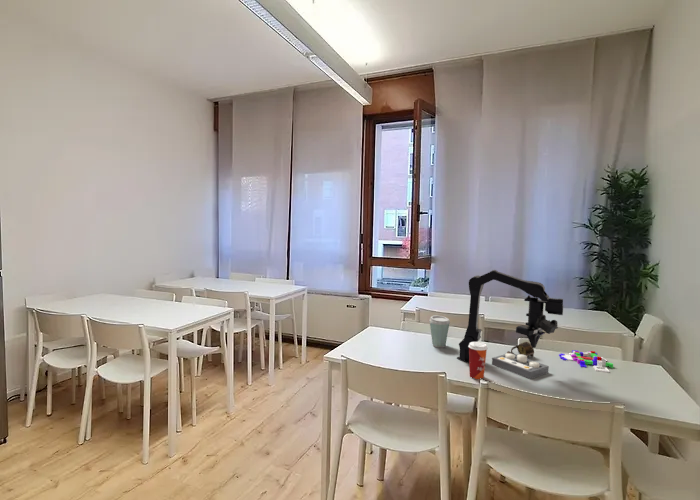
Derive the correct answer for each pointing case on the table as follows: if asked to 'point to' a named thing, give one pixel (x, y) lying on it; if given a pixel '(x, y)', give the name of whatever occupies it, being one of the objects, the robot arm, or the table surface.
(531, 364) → the button
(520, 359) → the button middle
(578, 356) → the building block set
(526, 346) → the brown mug
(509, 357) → the button
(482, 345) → the paper cup
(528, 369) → the pattern card
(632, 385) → the table surface
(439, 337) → the disposable coffee cup
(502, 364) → the button panel
